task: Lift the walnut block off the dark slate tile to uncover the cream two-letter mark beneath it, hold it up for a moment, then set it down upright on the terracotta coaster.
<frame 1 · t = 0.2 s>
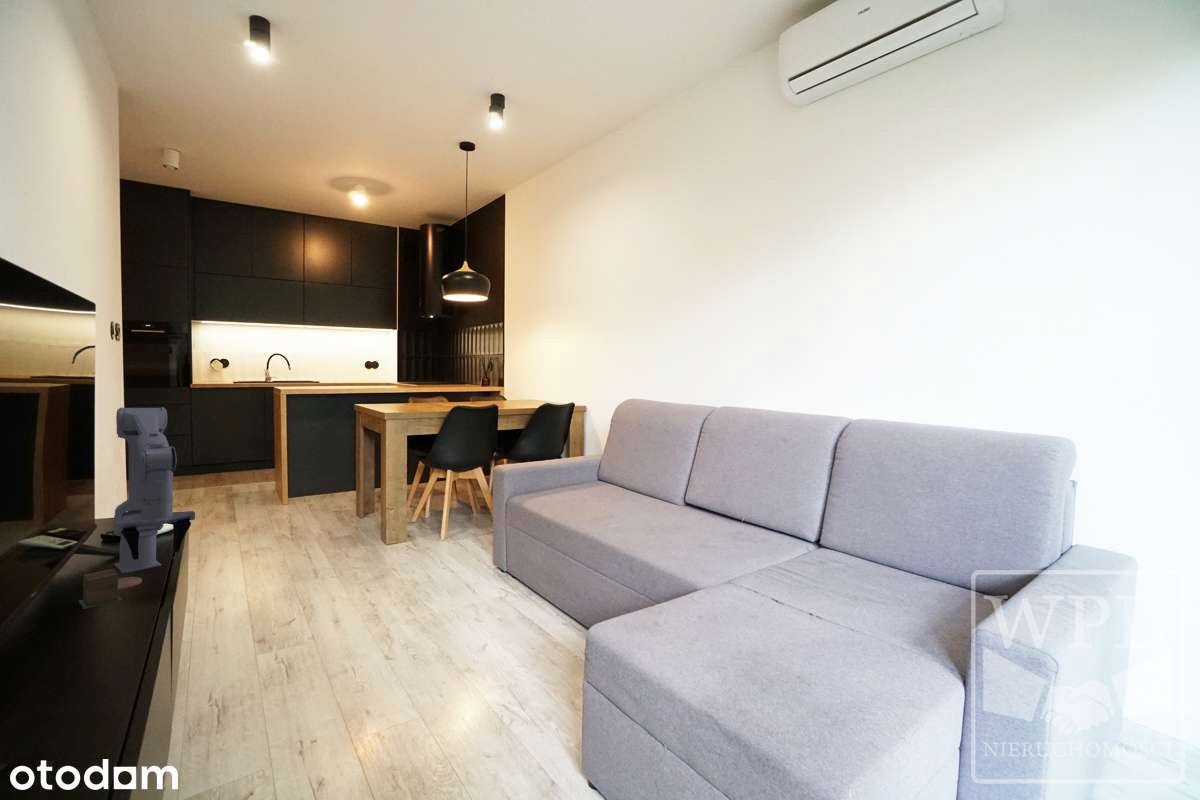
hand: (156, 554, 124), 10 cm above the tv stand, tool pointing down, fingers open, 7 cm apart
code board: (100, 601, 120), on the tv stand
coaster: (120, 585, 129), on the tv stand
vase: (138, 548, 157), on the tv stand
walnut block: (100, 600, 120), resting on code board
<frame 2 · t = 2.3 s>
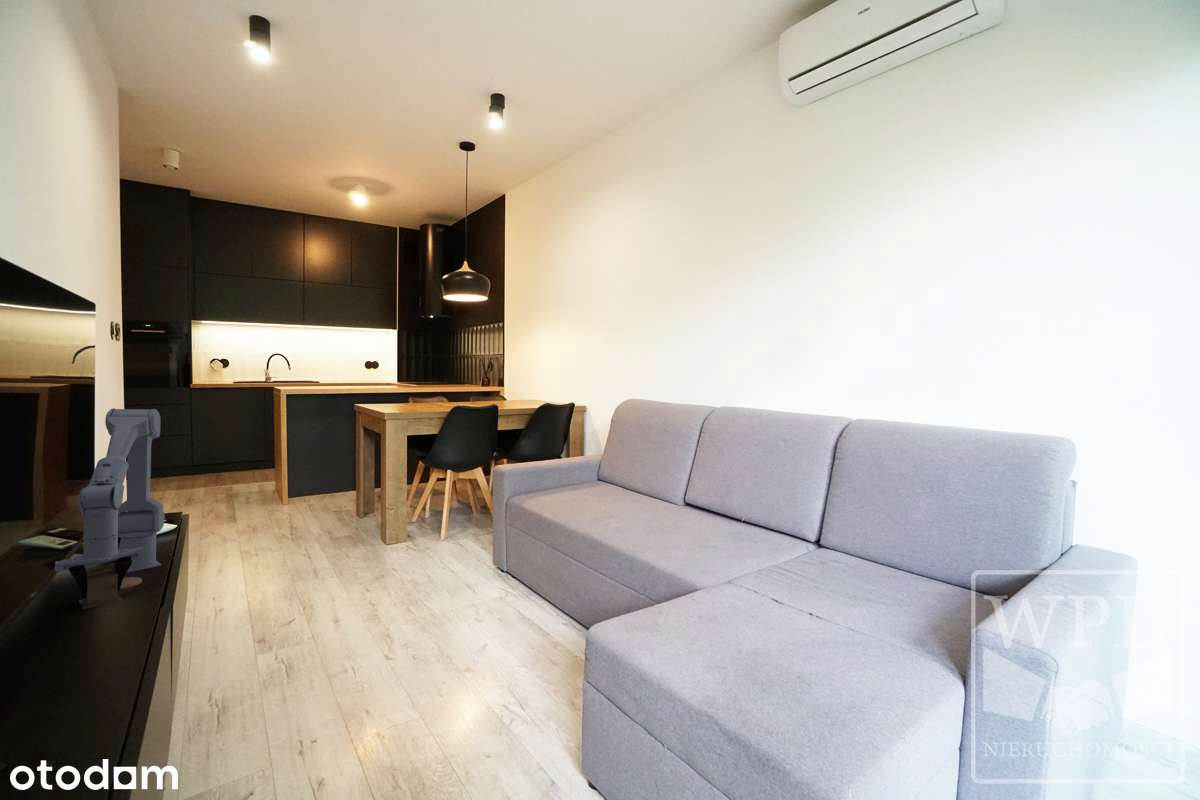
hand: (100, 594, 120), 2 cm above the tv stand, tool pointing down, fingers closed on walnut block, 5 cm apart
walnut block: (100, 600, 120), resting on code board, touching gripper
everything else where it was.
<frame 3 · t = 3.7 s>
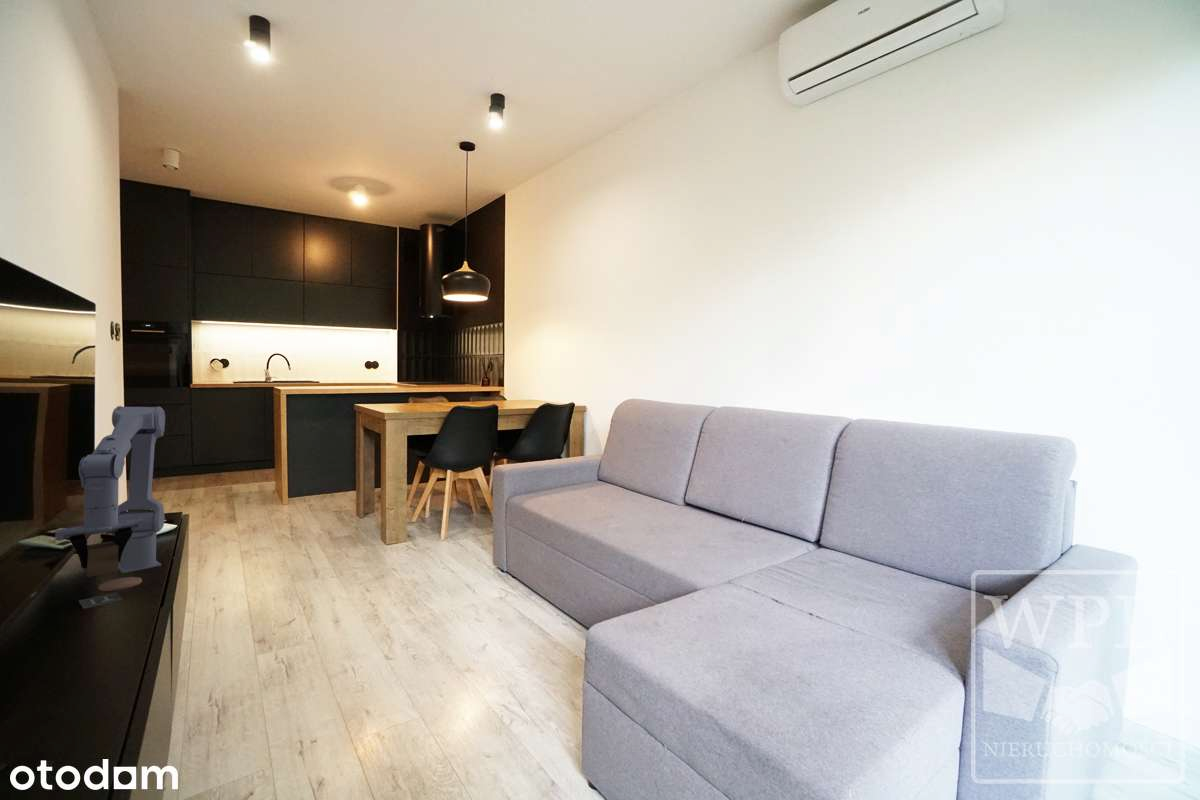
hand: (100, 564, 120), 9 cm above the tv stand, tool pointing down, fingers closed on walnut block, 5 cm apart
walnut block: (101, 571, 120), point 7 cm above the tv stand, touching gripper
everything else where it was.
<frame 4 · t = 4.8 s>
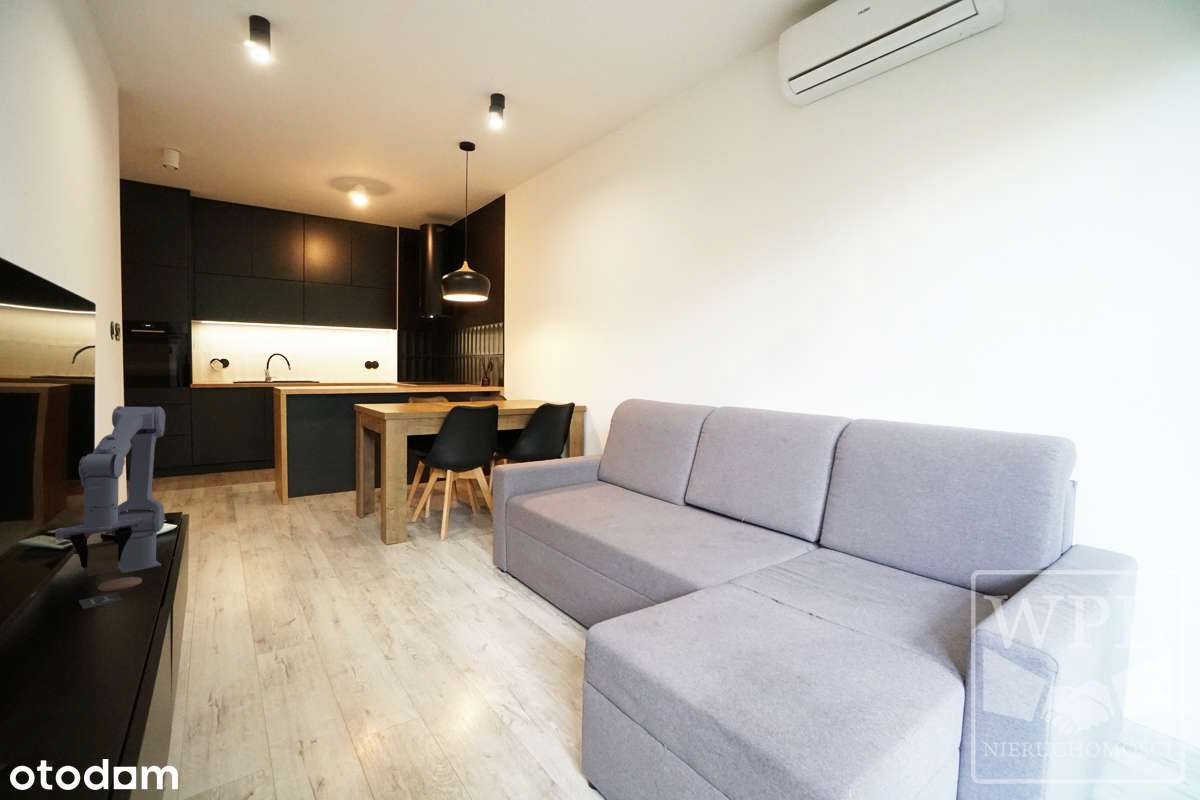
hand: (100, 563, 120), 9 cm above the tv stand, tool pointing down, fingers closed on walnut block, 5 cm apart
walnut block: (100, 570, 120), point 7 cm above the tv stand, touching gripper
everything else where it was.
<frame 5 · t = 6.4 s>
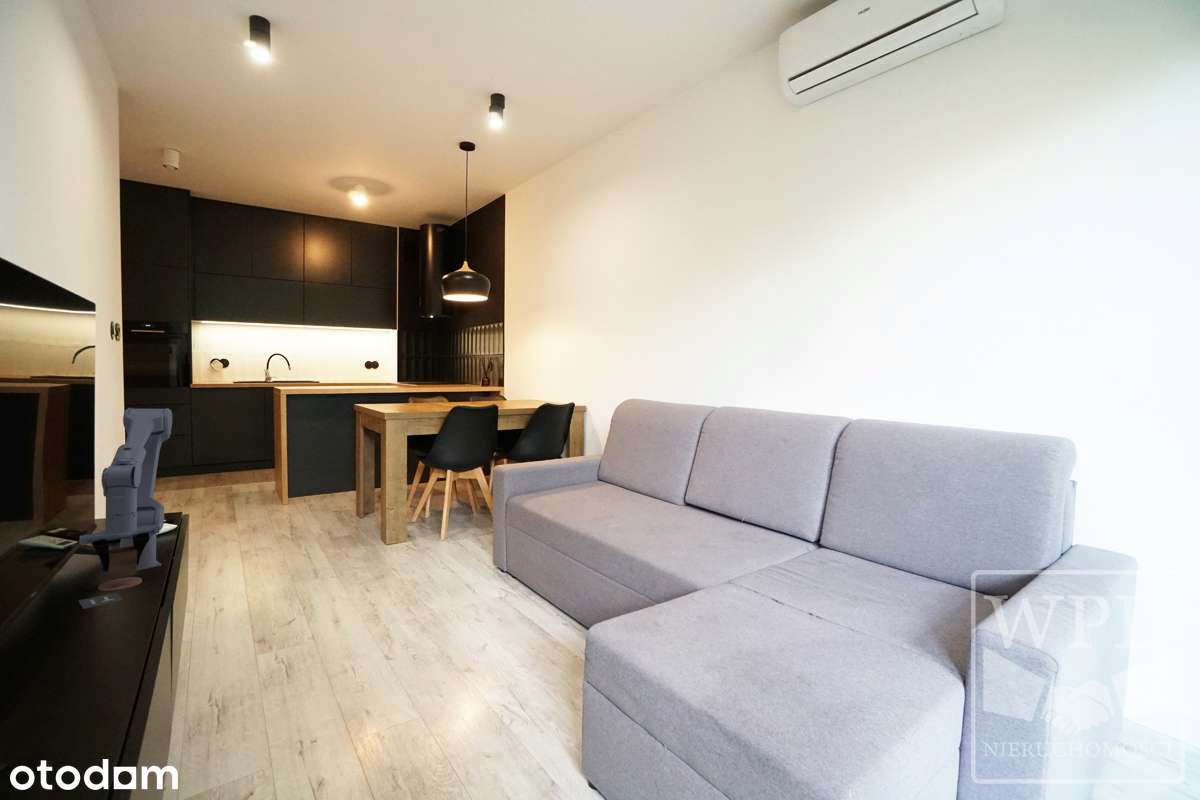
hand: (120, 567, 129), 5 cm above the tv stand, tool pointing down, fingers closed on walnut block, 5 cm apart
walnut block: (120, 574, 129), point 3 cm above the tv stand, touching gripper
everything else where it was.
when the fingers open (3 cm above the tv stand, at t = 7.6 s): walnut block drops 1 cm, resting on coaster.
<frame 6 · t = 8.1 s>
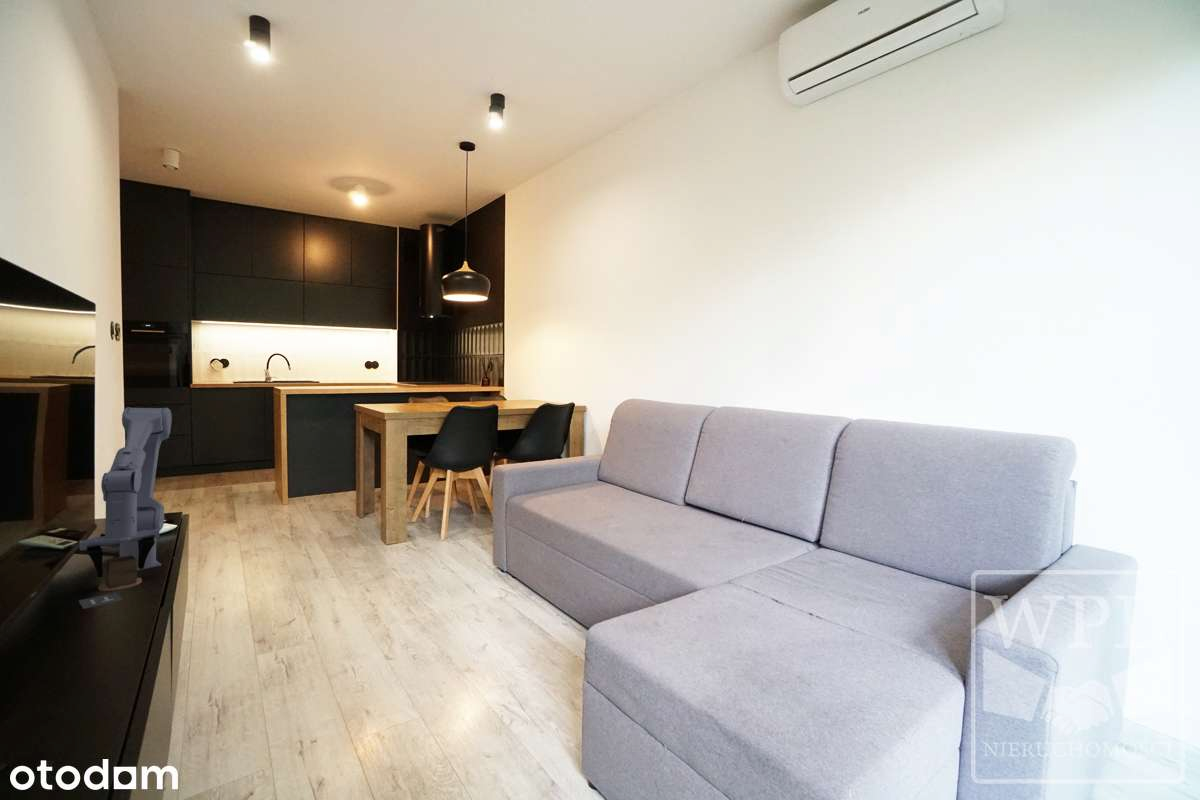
hand: (120, 571, 129), 3 cm above the tv stand, tool pointing down, fingers open, 7 cm apart
walnut block: (120, 583, 129), point 1 cm above the tv stand, touching coaster
everything else where it was.
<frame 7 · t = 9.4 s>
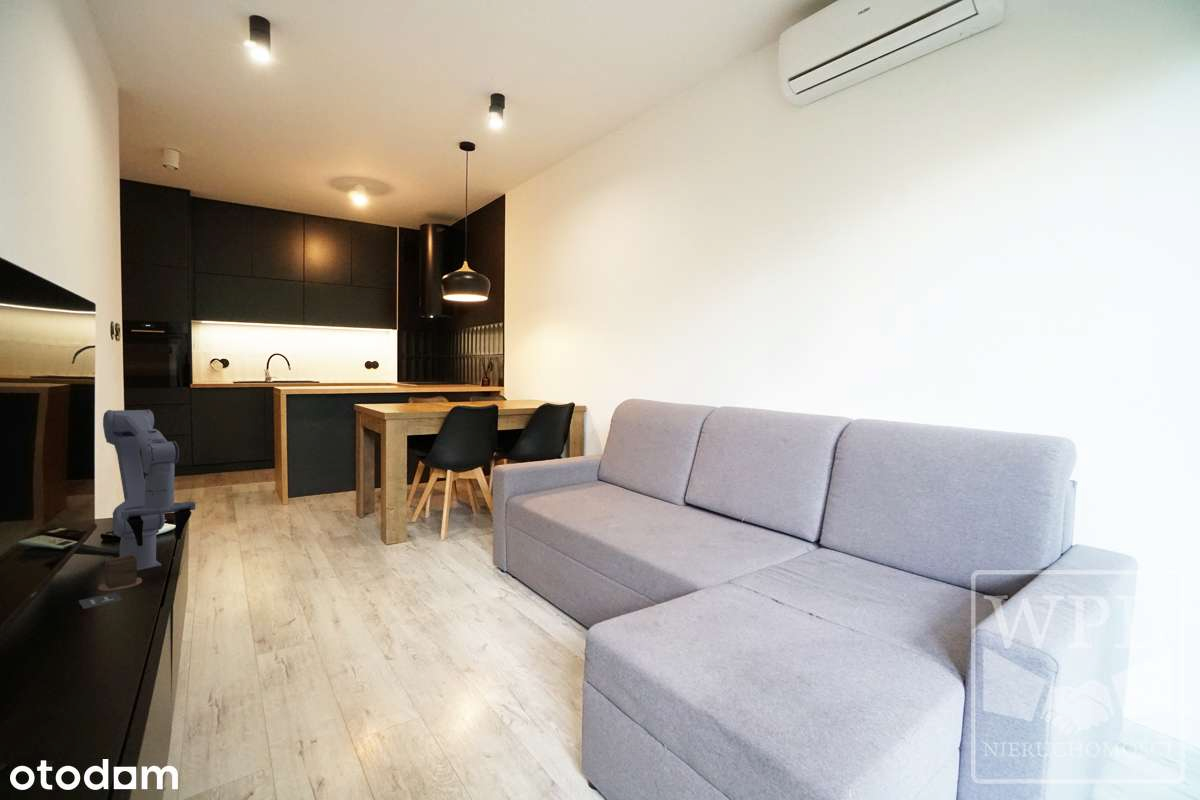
hand: (159, 541, 133), 10 cm above the tv stand, tool pointing down, fingers open, 7 cm apart
nothing on the tv stand moved.
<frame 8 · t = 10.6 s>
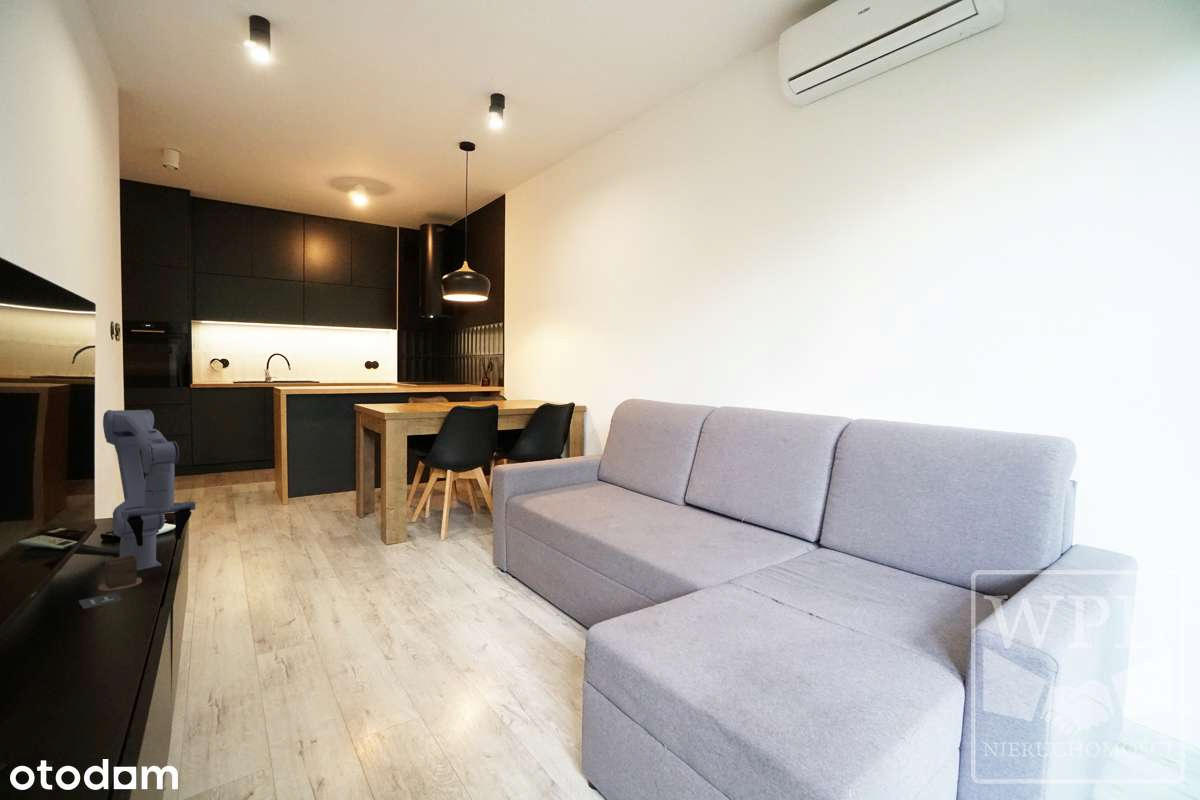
hand: (159, 541, 133), 10 cm above the tv stand, tool pointing down, fingers open, 7 cm apart
nothing on the tv stand moved.
at the end: walnut block 0.2 cm off-centre on the coaster, point 0.6 cm above the coaster's base; walnut block tilted 0°; the gripper is holding nothing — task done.
